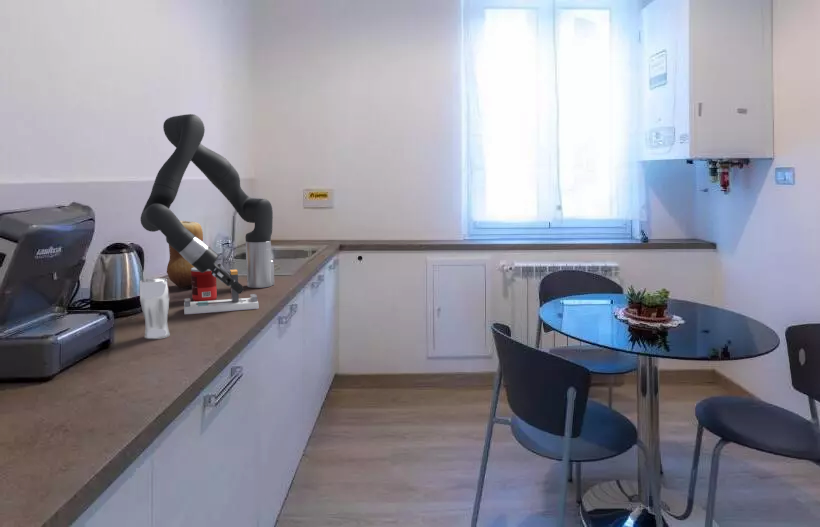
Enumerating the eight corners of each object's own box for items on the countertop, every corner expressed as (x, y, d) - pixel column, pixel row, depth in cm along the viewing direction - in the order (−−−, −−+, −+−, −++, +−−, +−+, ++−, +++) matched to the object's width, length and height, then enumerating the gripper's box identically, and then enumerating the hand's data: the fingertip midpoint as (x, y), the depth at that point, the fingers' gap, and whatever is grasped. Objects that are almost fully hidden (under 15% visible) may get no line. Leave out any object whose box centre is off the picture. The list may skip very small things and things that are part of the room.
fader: (232, 302, 182) (231, 271, 180) (231, 299, 186) (230, 269, 184) (238, 301, 183) (237, 271, 181) (237, 299, 186) (236, 269, 185)
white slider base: (184, 314, 175) (183, 303, 175) (184, 308, 183) (183, 297, 182) (258, 308, 183) (258, 297, 183) (255, 303, 191) (255, 293, 190)
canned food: (221, 298, 198) (220, 266, 197) (206, 303, 191) (204, 270, 189) (203, 296, 201) (201, 265, 199) (187, 301, 193) (185, 269, 192)
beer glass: (161, 331, 156) (158, 276, 154) (177, 335, 152) (173, 279, 150) (137, 337, 150) (133, 280, 148) (152, 341, 147) (148, 283, 144)
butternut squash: (205, 289, 213) (202, 222, 209) (166, 291, 209) (162, 222, 205) (206, 283, 226) (203, 219, 222) (169, 284, 222) (165, 220, 218)
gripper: (208, 248, 172) (251, 285, 178) (206, 243, 185) (247, 277, 191) (190, 266, 171) (234, 303, 177) (189, 260, 184) (231, 294, 190)
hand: (241, 290), depth 184 cm, fingers closed on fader, 4 cm apart
